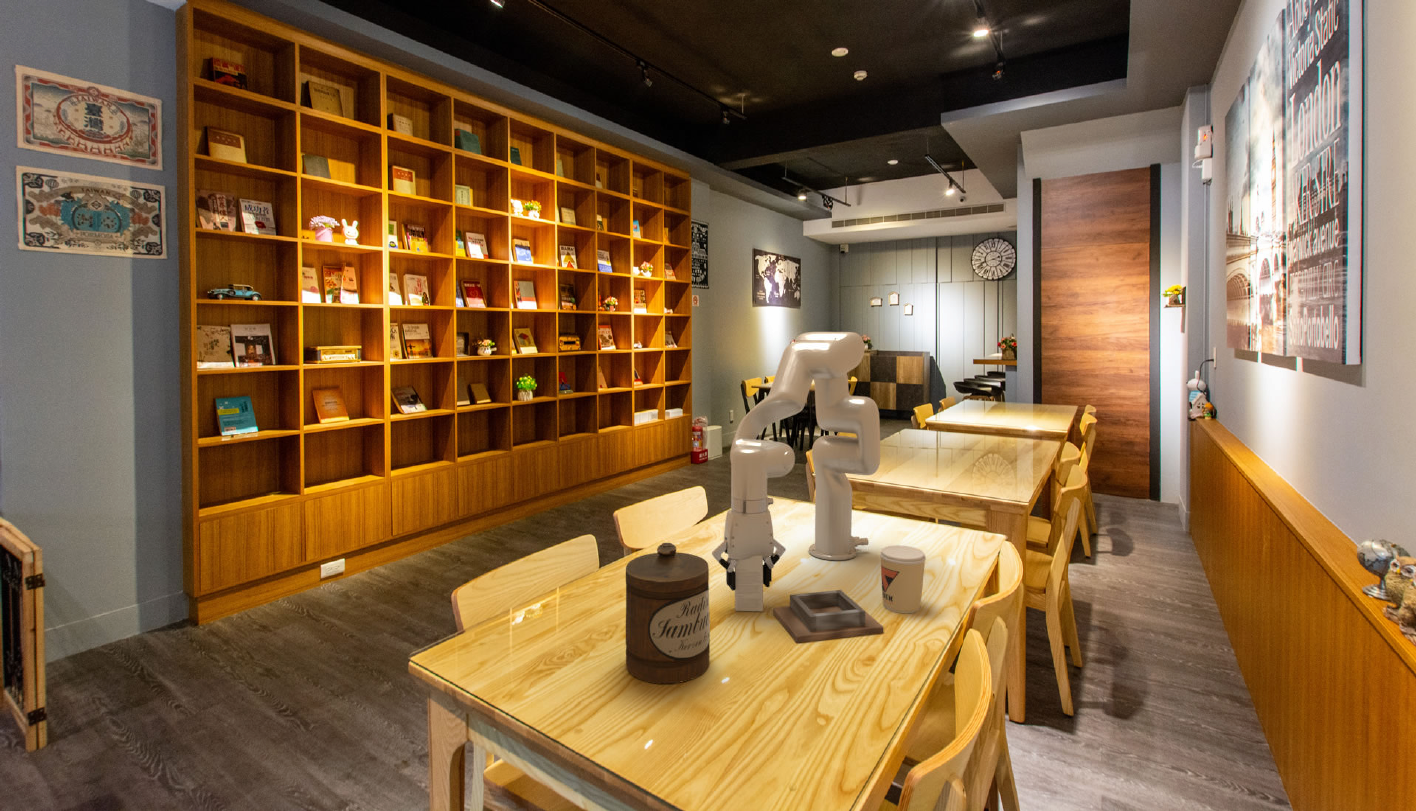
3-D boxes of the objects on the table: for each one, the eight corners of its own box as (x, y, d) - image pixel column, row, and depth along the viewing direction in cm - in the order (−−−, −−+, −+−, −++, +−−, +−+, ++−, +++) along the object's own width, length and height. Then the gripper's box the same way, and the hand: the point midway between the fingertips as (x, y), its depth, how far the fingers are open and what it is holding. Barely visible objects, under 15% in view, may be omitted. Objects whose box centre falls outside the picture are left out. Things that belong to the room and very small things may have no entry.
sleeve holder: (852, 604, 145) (852, 586, 145) (883, 632, 132) (883, 612, 131) (772, 613, 141) (772, 593, 141) (796, 642, 128) (796, 621, 127)
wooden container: (668, 694, 110) (666, 563, 107) (609, 665, 119) (606, 544, 117) (726, 661, 121) (726, 542, 118) (668, 637, 130) (667, 526, 128)
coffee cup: (872, 598, 149) (874, 545, 148) (914, 596, 150) (915, 544, 148) (887, 615, 140) (889, 559, 138) (931, 614, 140) (933, 558, 139)
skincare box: (763, 604, 146) (763, 550, 145) (763, 612, 142) (763, 557, 140) (735, 603, 147) (735, 549, 145) (734, 611, 142) (734, 556, 141)
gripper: (782, 498, 147) (781, 577, 149) (704, 503, 143) (705, 583, 145) (794, 506, 140) (793, 589, 142) (713, 512, 136) (713, 597, 138)
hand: (748, 585), depth 144 cm, fingers closed on skincare box, 6 cm apart
